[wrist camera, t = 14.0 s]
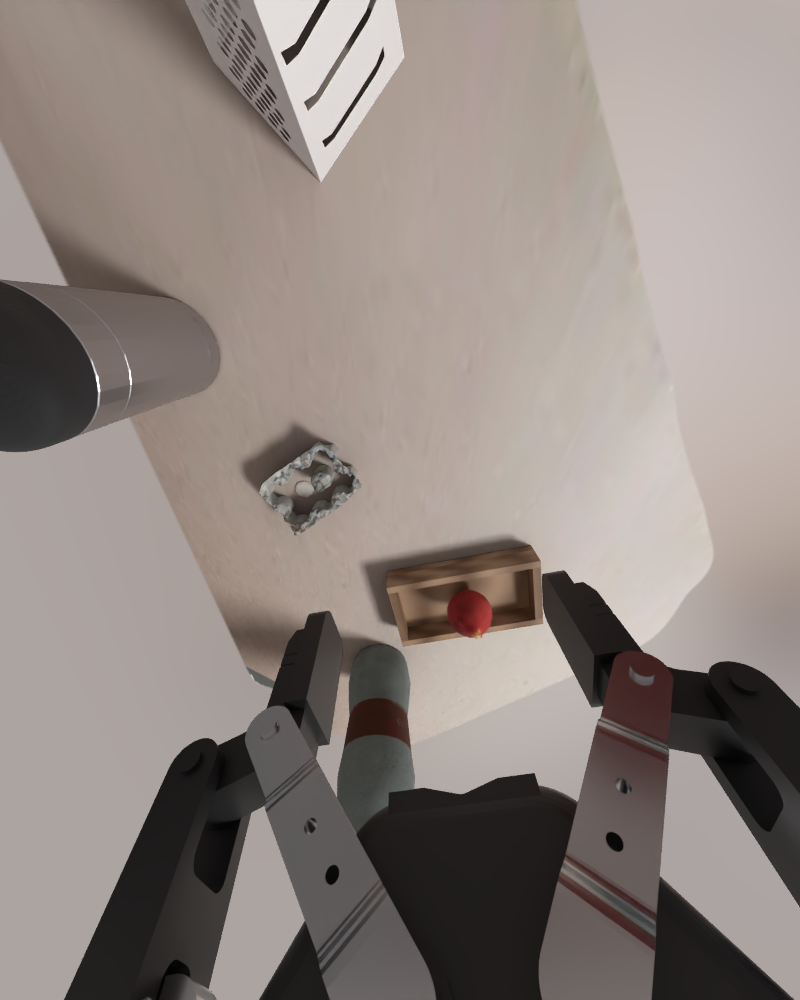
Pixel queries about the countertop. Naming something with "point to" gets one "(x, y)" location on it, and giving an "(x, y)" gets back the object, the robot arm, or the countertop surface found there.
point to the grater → (306, 64)
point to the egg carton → (310, 488)
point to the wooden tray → (494, 575)
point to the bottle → (375, 734)
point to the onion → (469, 613)
